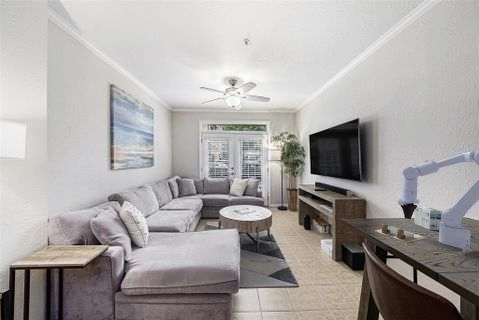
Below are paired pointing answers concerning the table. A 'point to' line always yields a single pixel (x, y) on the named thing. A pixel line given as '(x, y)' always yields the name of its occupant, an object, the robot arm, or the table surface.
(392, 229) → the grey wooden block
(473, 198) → the robot arm
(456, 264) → the table surface
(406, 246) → the table surface
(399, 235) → the board
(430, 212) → the light bulb box
